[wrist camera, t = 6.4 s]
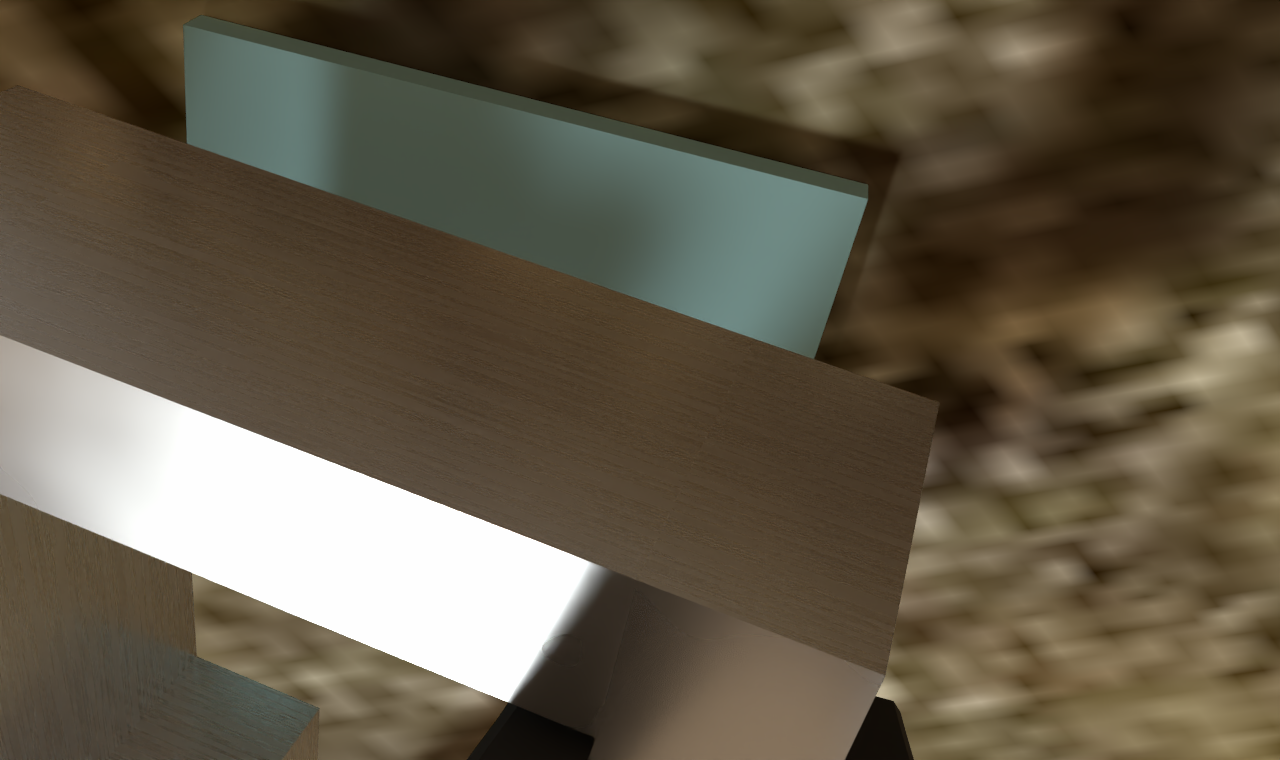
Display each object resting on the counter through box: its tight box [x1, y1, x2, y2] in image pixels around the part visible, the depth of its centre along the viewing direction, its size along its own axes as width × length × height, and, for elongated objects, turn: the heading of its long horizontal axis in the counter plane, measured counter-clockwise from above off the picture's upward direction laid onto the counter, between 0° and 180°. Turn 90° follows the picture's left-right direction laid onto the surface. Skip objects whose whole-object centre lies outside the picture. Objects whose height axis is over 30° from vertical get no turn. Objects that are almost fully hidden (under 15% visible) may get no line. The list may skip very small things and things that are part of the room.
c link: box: [0, 86, 939, 760], centre depth 13 cm, size 10×10×4 cm
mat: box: [183, 15, 868, 359], centre depth 18 cm, size 10×9×1 cm
